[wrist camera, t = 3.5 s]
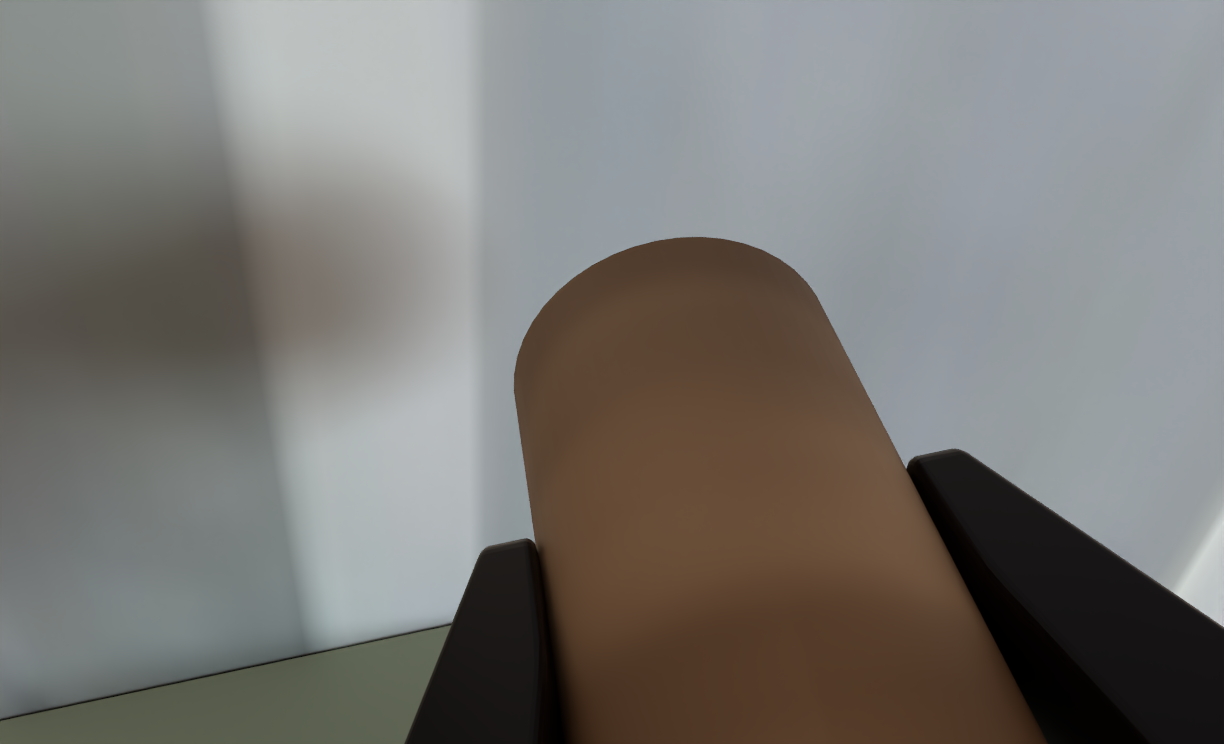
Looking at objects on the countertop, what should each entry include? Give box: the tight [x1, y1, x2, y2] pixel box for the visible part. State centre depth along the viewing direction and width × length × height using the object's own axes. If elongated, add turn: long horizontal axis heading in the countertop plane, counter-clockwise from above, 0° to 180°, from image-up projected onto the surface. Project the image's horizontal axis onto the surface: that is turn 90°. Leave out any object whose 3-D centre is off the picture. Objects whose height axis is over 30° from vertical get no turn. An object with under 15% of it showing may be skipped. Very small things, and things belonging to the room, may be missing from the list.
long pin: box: [514, 237, 1048, 744], centre depth 8 cm, size 3×3×8 cm
